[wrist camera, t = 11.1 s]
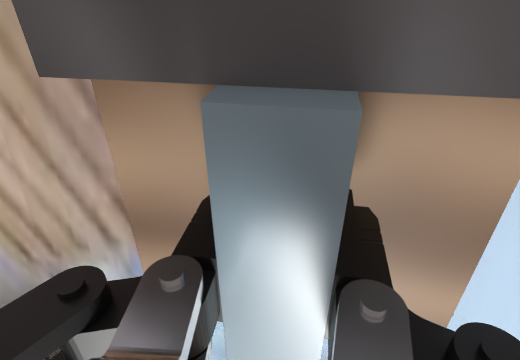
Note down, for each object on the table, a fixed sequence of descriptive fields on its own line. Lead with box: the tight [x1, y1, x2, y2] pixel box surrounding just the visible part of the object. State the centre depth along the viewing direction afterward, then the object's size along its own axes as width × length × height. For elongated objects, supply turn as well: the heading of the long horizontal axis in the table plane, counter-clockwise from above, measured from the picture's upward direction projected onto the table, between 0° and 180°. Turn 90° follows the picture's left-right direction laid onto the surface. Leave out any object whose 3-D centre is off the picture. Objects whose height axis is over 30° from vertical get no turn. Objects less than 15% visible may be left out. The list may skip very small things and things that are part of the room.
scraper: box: [12, 0, 520, 360], centre depth 10 cm, size 16×10×5 cm, turn 0°
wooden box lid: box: [91, 79, 520, 328], centre depth 14 cm, size 14×14×5 cm
